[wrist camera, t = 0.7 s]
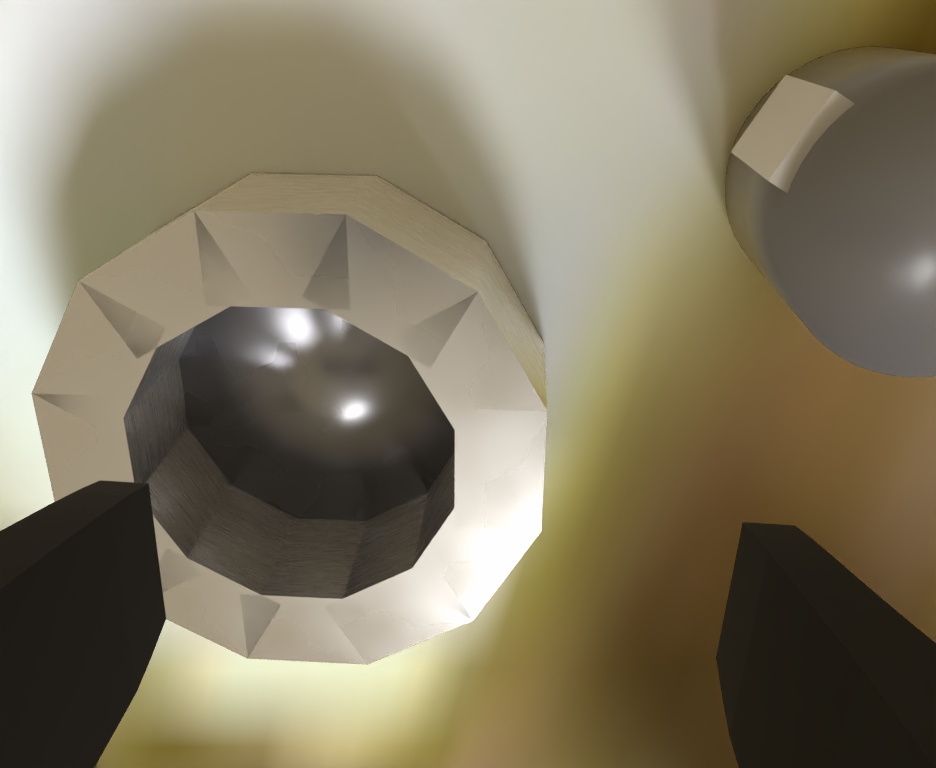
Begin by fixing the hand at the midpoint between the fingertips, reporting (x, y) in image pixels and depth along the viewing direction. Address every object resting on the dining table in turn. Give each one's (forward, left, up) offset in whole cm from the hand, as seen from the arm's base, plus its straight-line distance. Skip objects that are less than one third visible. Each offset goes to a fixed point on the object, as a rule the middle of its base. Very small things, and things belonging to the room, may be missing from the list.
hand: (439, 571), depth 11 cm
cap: (-5, -7, -10) cm, 13 cm away
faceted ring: (+2, +4, -10) cm, 10 cm away
